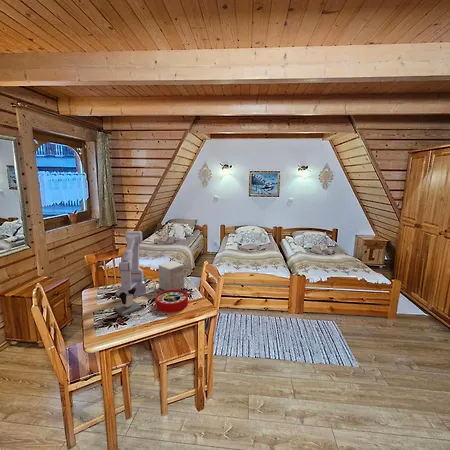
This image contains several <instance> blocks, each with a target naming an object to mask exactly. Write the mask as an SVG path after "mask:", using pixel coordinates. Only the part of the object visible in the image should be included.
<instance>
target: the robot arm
mask: <svg viewBox="0 0 450 450" xmlns="http://www.w3.org/2000/svg"><path fill="white" fill-rule="evenodd" d="M124 238H125V240H126V247H125V250H124V251H123V254H122V256H121V261H120V262H119V263H118V271H119V274H120V283H121V287H120V288H119V289H118V290H116V292H115V295H116V296H118V297H119V299H120V302H121V301H122V304H126V296H127V294H126V293H130V294H133V299H134V298H138V297H141V296H144V295H146V294H147V289H146V288H147V287H146V286H147V285H146V281H145V282H144V281H143V279H144V278H145V277H144V276H145V275H144V270H143V269H142V268H141V267H140V246H141V245H140V244H142V243H143V231H141V230H140V231H139V230H138V231H137V230H135V231H133V230H132V231H131V230H130V231H129V230H126V231H125V234H124Z"/></svg>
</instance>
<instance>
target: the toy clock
mask: <svg viewBox="0 0 450 450" xmlns="http://www.w3.org/2000/svg"><path fill="white" fill-rule="evenodd" d="M188 306H189V294H188V293H187V291H185V290H181V289H178V290H163V291H160V292H159V293H158V294H156V295H155V308H156V309H157V311H159V312H162V313H169V314H171V313H178V312H181V311H183V310H184V309H186V308H187V307H188Z"/></svg>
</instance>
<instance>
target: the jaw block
mask: <svg viewBox="0 0 450 450" xmlns="http://www.w3.org/2000/svg"><path fill="white" fill-rule="evenodd" d="M125 294H127V296H126V304H122V301H121V300H120V304H121V305H122V306H125V307H128V306H130V305H132V304H134V302H135V301H134V298H133V294H130V293H128V292H125Z"/></svg>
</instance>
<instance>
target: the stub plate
mask: <svg viewBox="0 0 450 450" xmlns="http://www.w3.org/2000/svg"><path fill="white" fill-rule="evenodd" d="M113 309H114V311H116V312H117V313H118V314H119V315H121V316H122V317H125V316H127V315H131V314H133V313H136V312H139V311H140V310H142V309H143V306H141V305H140V304H139V303H137V302H136V301H134V304H132V305H130V306H128V307H125V306H122V305H121V303H120V304H118V305H115V306H113Z"/></svg>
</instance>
